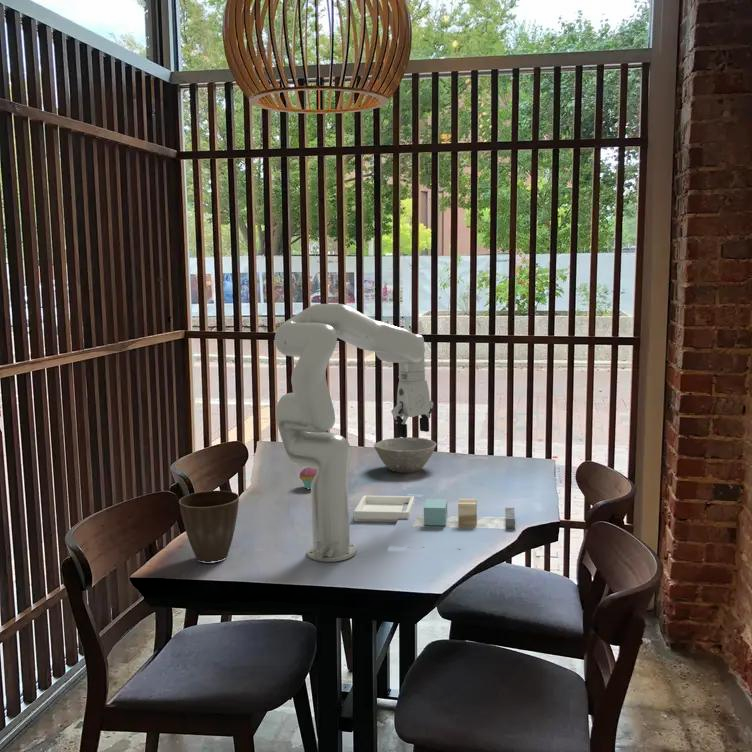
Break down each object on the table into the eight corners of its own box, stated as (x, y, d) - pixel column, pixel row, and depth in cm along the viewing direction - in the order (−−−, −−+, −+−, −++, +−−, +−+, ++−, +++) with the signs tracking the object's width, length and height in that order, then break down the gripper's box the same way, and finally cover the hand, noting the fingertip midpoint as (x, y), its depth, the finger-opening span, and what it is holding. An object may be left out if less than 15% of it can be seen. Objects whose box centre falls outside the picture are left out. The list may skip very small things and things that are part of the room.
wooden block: (476, 525, 208) (476, 504, 207) (458, 524, 209) (458, 503, 208) (476, 519, 213) (476, 498, 212) (459, 518, 214) (459, 498, 213)
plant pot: (218, 544, 202) (214, 487, 200) (254, 556, 193) (251, 496, 191) (171, 561, 191) (166, 500, 189) (206, 574, 181) (203, 510, 179)
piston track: (515, 533, 204) (515, 519, 203) (413, 530, 208) (412, 516, 208) (514, 521, 214) (514, 507, 213) (416, 519, 218) (416, 506, 218)
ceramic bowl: (375, 463, 286) (374, 437, 285) (435, 462, 285) (435, 436, 284) (373, 478, 264) (372, 451, 263) (438, 477, 263) (437, 449, 262)
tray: (408, 522, 216) (408, 512, 215) (354, 521, 218) (354, 511, 218) (414, 505, 231) (414, 496, 231) (363, 504, 234) (363, 495, 233)
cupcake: (297, 486, 257) (295, 452, 256) (320, 483, 260) (319, 449, 259) (303, 492, 249) (302, 457, 248) (328, 489, 252) (326, 454, 251)
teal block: (445, 525, 208) (445, 508, 207) (424, 524, 209) (423, 507, 208) (447, 516, 216) (447, 499, 215) (426, 515, 216) (426, 499, 216)
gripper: (401, 381, 209) (403, 441, 212) (440, 374, 221) (442, 430, 224) (382, 379, 214) (384, 437, 217) (421, 372, 227) (423, 427, 229)
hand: (413, 434), depth 220 cm, fingers open, 9 cm apart
